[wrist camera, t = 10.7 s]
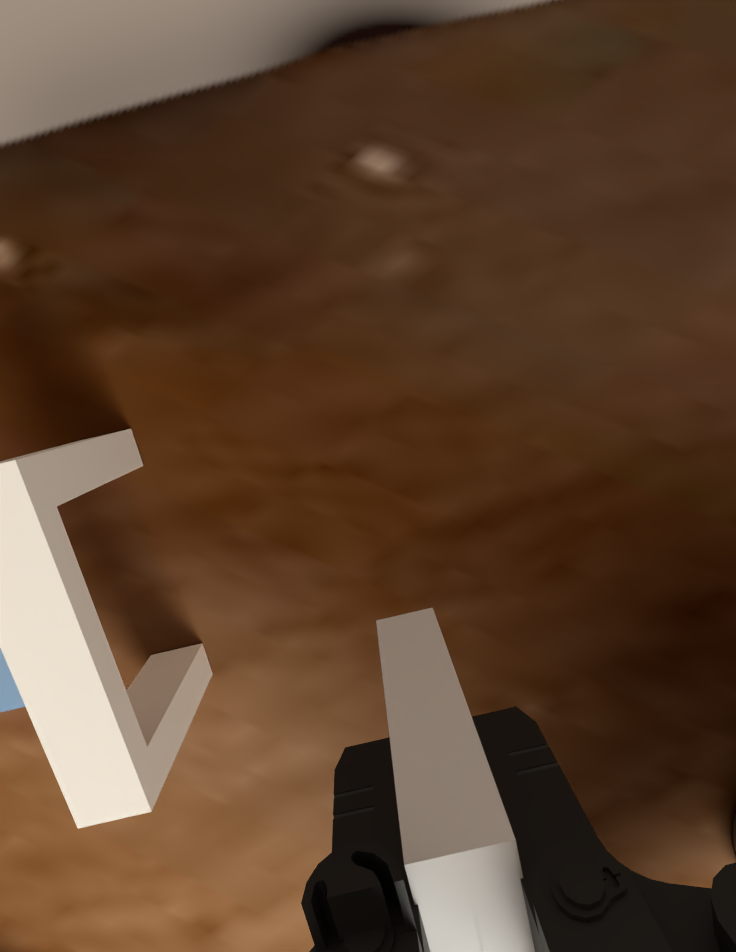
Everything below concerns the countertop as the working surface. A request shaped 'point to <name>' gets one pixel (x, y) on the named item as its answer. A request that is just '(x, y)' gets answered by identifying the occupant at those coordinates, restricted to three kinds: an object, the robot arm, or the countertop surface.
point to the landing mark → (8, 688)
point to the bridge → (84, 643)
